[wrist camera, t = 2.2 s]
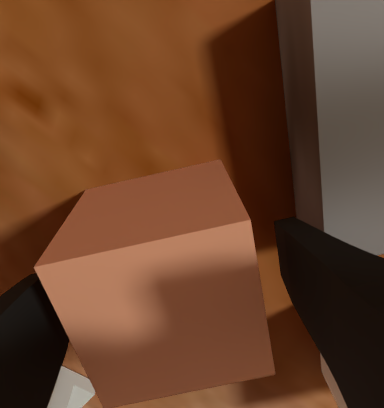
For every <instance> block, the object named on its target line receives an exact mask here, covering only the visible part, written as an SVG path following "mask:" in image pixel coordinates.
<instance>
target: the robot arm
mask: <svg viewBox="0 0 384 408" xmlns="http://www.w3.org/2000/svg"><path fill="white" fill-rule="evenodd" d="M274 225H275V233H276V241H277V248H278V256H279V264H280V272H281V276H282V279H283V281H284V284H285V286H286V289H287V291H288V294H289V296H290V299H291V301H292V303H293V305H294V307H295V309H296V310H297V312H298V314H299V316H300V318H301V319H302V321H303V323H304V325H305V327H306V328H307V330H308V332H309V334H310V335H311V337H312V339H313V341H314V342H315V344H316V346H317V348H318V350H319V351H320V353H321V355H322V357H323V358H324V360H325V362H326V364H327V365H328V367H329V369H330V371H331V373H332V375H333V377H334V379H335V381H336V383H337V385H338V388H339V390H340V392H341V394H342V396H343V399H344V401H345V403H346V405H347V408H384V258H382V257H379V256H377V255H374V254H372V253H369V252H367V251H364V250H362V249H359V248H357V247H355V246H353V245H350V244H348V243H346V242H344V241H342V240H339V239H337V238H335V237H333V236H331V235H329V234H327V233H325V232H323V231H321V230H319V229H317V228H315V227H313V226H311V225H309V224H307V223H305V222H303V221H301V220H299V219H297V218H295V217H291V218H287V219H282V220H277V221H274ZM68 343H69V337H68V335H67V333H66V331H65V329H64V327H63V325H62V323H61V321H60V319H59V317H58V315H57V313H56V311H55V309H54V307H53V305H52V303H51V301H50V299H49V297H48V295H47V293H46V291H45V289H44V287H43V285H42V283H41V281H40V279H39V277H38V275H37V273H35V274H31V275H29V276H28V277H26V278H24V279H23V280H21V281H20V282H19V283H17V284H16V285H15V286H13V287H12V288H11V289H9V290H8V291H7V292H5V293H4V294H3V295H2V296H0V408H47V406H48V404H49V401H50V398H51V395H52V392H53V389H54V386H55V384H56V381H57V378H58V375H59V372H60V369H61V366H62V363H63V360H64V357H65V354H66V351H67V347H68Z"/></svg>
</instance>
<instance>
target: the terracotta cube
mask: <svg viewBox="0 0 384 408" xmlns="http://www.w3.org/2000/svg"><path fill="white" fill-rule="evenodd" d="M34 269H35V271H36V273H37V275H38V277H39V279H40V281H41V283H42V285H43V287H44V289H45V291H46V293H47V295H48V297H49V299H50V301H51V303H52V305H53V307H54V309H55V311H56V313H57V315H58V317H59V319H60V321H61V323H62V325H63V327H64V329H65V331H66V333H67V335H68V337H69V339H70V341H71V344H72V346H73V348H74V350H75V352H76V354H77V356H78V358H79V360H80V362H81V364H82V366H83V368H84V370H85V372H86V374H87V376H88V378H89V380H90V382H91V384H92V386H93V388H94V390H95V392H96V394H97V396H98V398H99V400H100V402H101V404H102V406H103V408H113V407H118V406H123V405H128V404H133V403H138V402H142V401H147V400H152V399H157V398H162V397H167V396H172V395H177V394H182V393H187V392H192V391H197V390H202V389H207V388H212V387H217V386H221V385H226V384H231V383H236V382H241V381H246V380H251V379H256V378H261V377H266V376H271V375H276V374H275V368H274V362H273V355H272V349H271V343H270V337H269V331H268V324H267V318H266V312H265V306H264V300H263V293H262V287H261V281H260V275H259V268H258V262H257V256H256V250H255V244H254V237H253V231H252V225H251V219H250V217H249V215H248V213H247V211H246V209H245V207H244V205H243V203H242V201H241V199H240V197H239V195H238V193H237V191H236V189H235V187H234V185H233V183H232V181H231V179H230V177H229V175H228V173H227V171H226V169H225V167H224V165H223V163H222V162H221V160H215V161H211V162H206V163H202V164H198V165H193V166H189V167H184V168H180V169H175V170H171V171H167V172H162V173H158V174H153V175H149V176H144V177H140V178H135V179H131V180H127V181H122V182H118V183H113V184H109V185H104V186H100V187H96V188H91V189H87V190H85V192H84V193H83V195H82V196H81V198H80V199H79V201H78V202H77V204H76V205H75V207H74V208H73V210H72V211H71V213H70V214H69V216H68V217H67V218H66V220H65V221H64V223H63V224H62V226H61V227H60V229H59V230H58V232H57V233H56V235H55V236H54V238H53V239H52V241H51V242H50V244H49V245H48V247H47V248H46V250H45V251H44V253H43V254H42V256H41V257H40V259H39V260H38V262H37V263H36V264H35V266H34Z"/></svg>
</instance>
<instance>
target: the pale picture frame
mask: <svg viewBox="0 0 384 408" xmlns="http://www.w3.org/2000/svg"><path fill="white" fill-rule="evenodd" d="M94 395H95V390H94V388H93V386H92V384H91V382H90V380H89V379H88V378H86V377H84V376H82V375H80V374H78V373H76V372H74V371H71V370H69V369H67V368H65V367H63V366H61V369H60V372H59V375H58V378H57V381H56V384H55V386H54V389H53V392H52V395H51V398H50V401H49V404H48V406H47V408H82V407H83V406H84V405H85V404H86V403H87V402H88V401H89V400H90V399H91V398H92V397H93V396H94Z"/></svg>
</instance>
